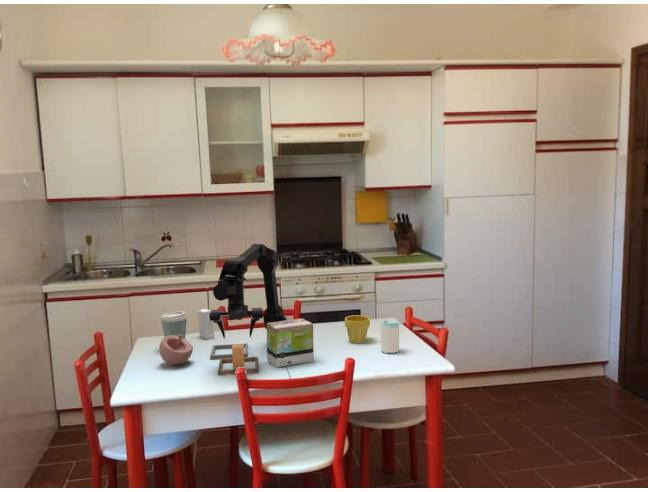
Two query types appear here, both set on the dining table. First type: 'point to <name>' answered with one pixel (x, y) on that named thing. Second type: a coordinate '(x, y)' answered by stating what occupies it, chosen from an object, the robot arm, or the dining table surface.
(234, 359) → the plug block
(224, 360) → the frame
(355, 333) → the plant pot
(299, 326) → the tea box
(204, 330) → the skincare box
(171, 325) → the disposable coffee cup
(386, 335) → the can
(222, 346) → the gray square frame
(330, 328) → the dining table surface
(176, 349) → the mortar and pestle
